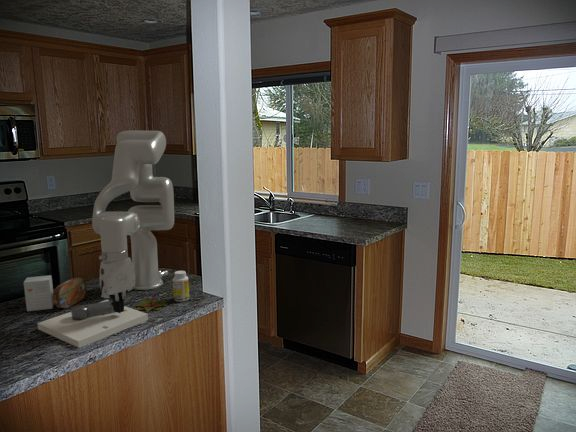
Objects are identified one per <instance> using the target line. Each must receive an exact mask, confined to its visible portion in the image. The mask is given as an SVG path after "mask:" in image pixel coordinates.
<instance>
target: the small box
mask: <svg viewBox="0 0 576 432" xmlns="http://www.w3.org/2000/svg"><path fill="white" fill-rule="evenodd" d="M52 277H53V276H52V275H51V274H49V275H48V274H47V275H40V276H39V275H38V276H29V277H26V278H25V280H24V281H23V289H24V297H25V299H24V300H25V306H26V307H25V308H26V311H27V312H34V311H42V310H52V309H53V308H54V305H55V304H54V299H53V293H54V285H53V278H52Z"/></svg>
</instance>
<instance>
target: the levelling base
mask: <svg viewBox="0 0 576 432" xmlns="http://www.w3.org/2000/svg"><path fill="white" fill-rule="evenodd" d="M106 301H110V300H109V299H105V300H102V301H99V302H98V303H100V302H106ZM148 320H149V315H148V313H146V312H143V311H141V310H136V309H134V308H132V307H128V306H125V305H124V312H121V313H118V312H115V311H112V312H106V313H101V314H96V315H90V316H89V317H87V318H85V319H82V320H74V319H72V314H71V311H70V312H67V313H62V314H61V315H58V316H54V317H52V318H49V319H46V320H43V321H40V322H37V330H39V331H41V332H43V333H46V334H48V335H50V336H51V337H54V338H57V339H58V340H61V341H63V342H65V343H67V344H69V345H72V346H74V347H76V348H77V349H78V348H79V349H80V348H83V347H84V346H87V345H90V344H92V343H95V342H97V341H100V340H102V339H105V338H107V337H109V336H112V335H114V334H116V333H119V332H121V331H124V330H126V329H129V328H131V327H134V326H136V325H139V324H141V323H143V322H147V321H148Z"/></svg>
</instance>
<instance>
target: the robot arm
mask: <svg viewBox="0 0 576 432" xmlns="http://www.w3.org/2000/svg"><path fill="white" fill-rule="evenodd" d="M166 148H167V138H166V136H165V134H164V132H162V131H160V130H140V129H139V130H131V129H130V130H123V131H120V132H119V133H117V135H116V145H115V149H114V158H113V165H112V166H113V167H112V174H111V181H110V182H109V183H108V184H107V185H106V186H105V187H104V188H103V189H102V190H101V191H100V192H99V194H98V196H97V197H96V199H95V201H94V205H93V210H92V211H93V212H92V221H91V224H92V229H93V231H94V233H95V234H97V235H99V236H100V244H101V245H100V246H101V254H100V255H99V256H98V260H100V265H99V267H100V268H99V290H100V292H101V298H103V299H110V301H111V300H113V309H114V311H115V312H118V313H121V312H124V306H125V299H126V296H127V294H128V292H130V291H132V290H136V291H137V290H139V291H145V290H146V291H147V290H153V289H157V288H159V287H161V286H162V285H163V284H164V281H163V279H162V278H163V277H164V276H168V275H169V271H168V270H163V271H162V270H159V259H158V242H157V239H156V237H155V235H154V234H153V232H152V231H169V230H171V229H172V228H173V227H174V225H175V195H174V193H175V191H174V185H173V182H172V180H171V179H170V178H168V177H166V176H154V175H153V165H156V164H158V163H159V161H160V159H161V158H162V156H163V155H164V152H165V151H166ZM128 192H129V193H130V198H131V200H133V201H134V202H136V203H137V202H139V203H157V202H158V203H159V204H160V205H152V204H151V205H150V204H149V205H142V204H141V205H135V206H132V207H130V208H129V209H128V210H127V211H106V209H107V207H108V205H109V204H110V203H111V202H112V200H114V199H116V198H117V197H119V196H121V195H123V194H126V193H128ZM127 236H130V243H131V244H130V246H131V247H130V248H131V257H129V253H128V252H129V251H128V237H127Z"/></svg>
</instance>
